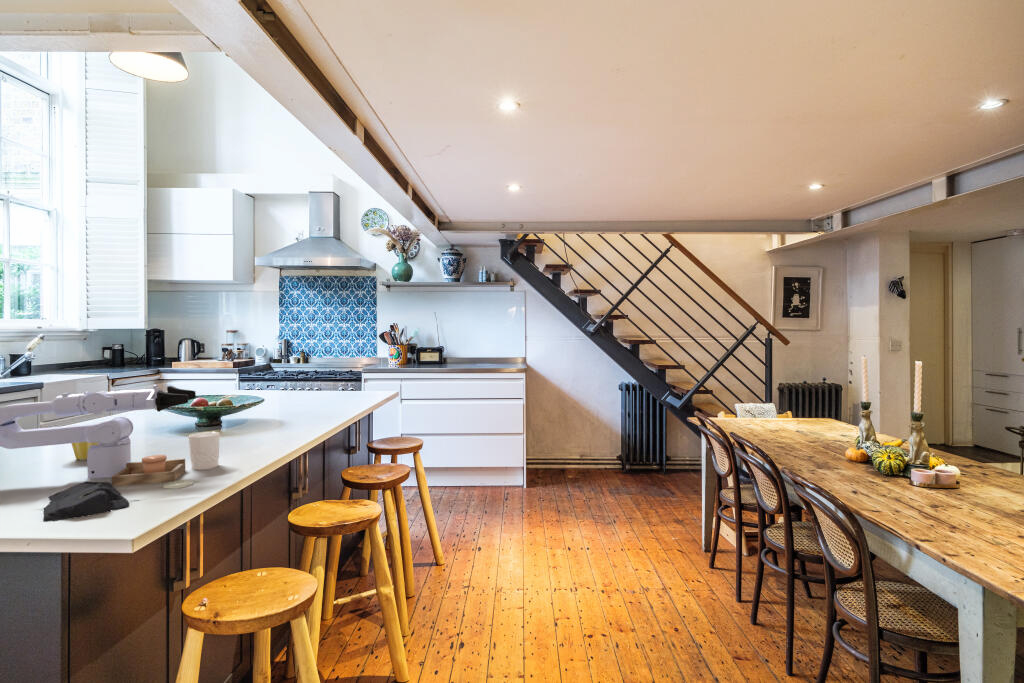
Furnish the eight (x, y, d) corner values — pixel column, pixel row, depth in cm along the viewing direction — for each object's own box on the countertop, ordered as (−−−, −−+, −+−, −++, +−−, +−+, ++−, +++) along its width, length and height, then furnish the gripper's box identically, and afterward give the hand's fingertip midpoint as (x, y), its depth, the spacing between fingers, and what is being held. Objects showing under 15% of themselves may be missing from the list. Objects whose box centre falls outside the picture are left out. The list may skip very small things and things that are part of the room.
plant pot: (92, 461, 169) (92, 430, 169) (59, 462, 169) (58, 430, 169) (117, 454, 179) (116, 424, 179) (86, 454, 179) (85, 424, 179)
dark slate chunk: (120, 489, 142) (120, 470, 142) (130, 510, 125) (130, 489, 125) (42, 501, 132) (41, 482, 132) (42, 526, 115) (41, 504, 115)
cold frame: (112, 488, 141) (111, 472, 141) (127, 477, 151) (127, 462, 151) (174, 483, 145) (174, 468, 145) (185, 472, 155) (185, 458, 155)
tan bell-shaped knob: (139, 481, 145) (138, 460, 145) (146, 475, 150) (145, 455, 150) (163, 479, 146) (163, 458, 146) (169, 474, 152) (169, 454, 152)
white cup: (226, 465, 163) (225, 431, 163) (209, 472, 156) (208, 437, 155) (201, 464, 164) (200, 431, 164) (183, 471, 156) (182, 436, 156)
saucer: (156, 493, 136) (156, 489, 136) (165, 484, 144) (165, 480, 144) (191, 490, 139) (191, 486, 139) (198, 481, 146) (198, 478, 146)
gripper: (126, 389, 147) (183, 386, 151) (145, 382, 161) (197, 379, 165) (127, 415, 148) (184, 411, 151) (147, 406, 161) (199, 402, 165)
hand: (191, 396), depth 158 cm, fingers open, 7 cm apart
